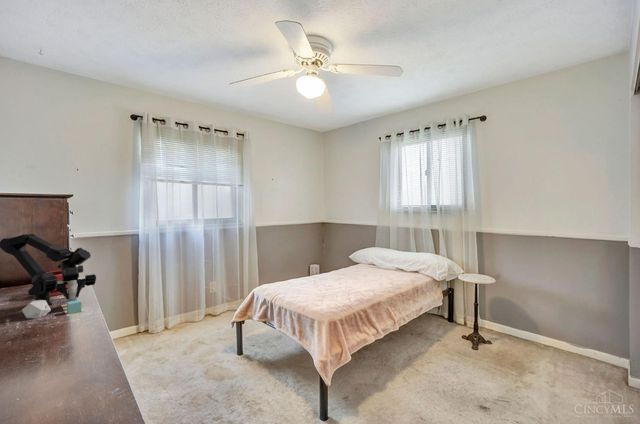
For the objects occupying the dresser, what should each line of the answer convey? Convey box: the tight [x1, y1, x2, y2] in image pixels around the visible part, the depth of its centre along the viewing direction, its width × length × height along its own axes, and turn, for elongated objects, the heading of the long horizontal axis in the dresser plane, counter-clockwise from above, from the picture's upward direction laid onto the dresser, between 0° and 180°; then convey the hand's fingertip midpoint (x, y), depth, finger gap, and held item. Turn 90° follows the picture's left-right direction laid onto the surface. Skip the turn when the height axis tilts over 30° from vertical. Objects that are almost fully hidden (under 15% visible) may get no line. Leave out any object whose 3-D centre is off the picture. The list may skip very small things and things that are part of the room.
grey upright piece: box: [61, 280, 85, 317], centre depth 136 cm, size 20×6×14 cm, turn 47°
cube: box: [66, 299, 83, 314], centre depth 132 cm, size 4×4×4 cm
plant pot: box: [45, 270, 68, 297], centre depth 163 cm, size 13×13×12 cm
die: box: [21, 299, 52, 319], centre depth 127 cm, size 8×9×10 cm
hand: (72, 298), depth 135 cm, fingers closed on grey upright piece, 3 cm apart
